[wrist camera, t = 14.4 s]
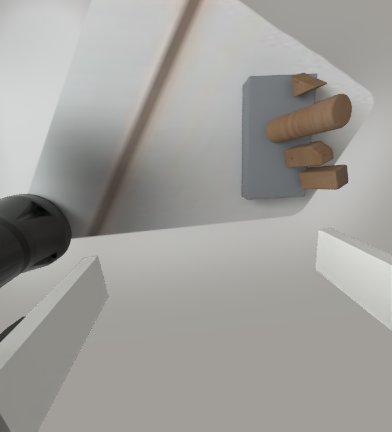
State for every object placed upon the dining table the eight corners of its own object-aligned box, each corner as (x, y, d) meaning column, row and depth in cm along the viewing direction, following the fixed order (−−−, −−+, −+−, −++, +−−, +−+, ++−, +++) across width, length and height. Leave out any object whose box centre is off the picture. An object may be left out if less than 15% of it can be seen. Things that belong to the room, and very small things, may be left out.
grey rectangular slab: (241, 196, 40) (247, 199, 36) (242, 85, 35) (249, 76, 31) (293, 192, 40) (304, 196, 37) (302, 83, 35) (317, 73, 31)
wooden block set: (309, 179, 38) (375, 178, 29) (279, 197, 35) (341, 201, 26) (293, 78, 33) (368, 36, 23) (255, 89, 30) (324, 46, 20)
